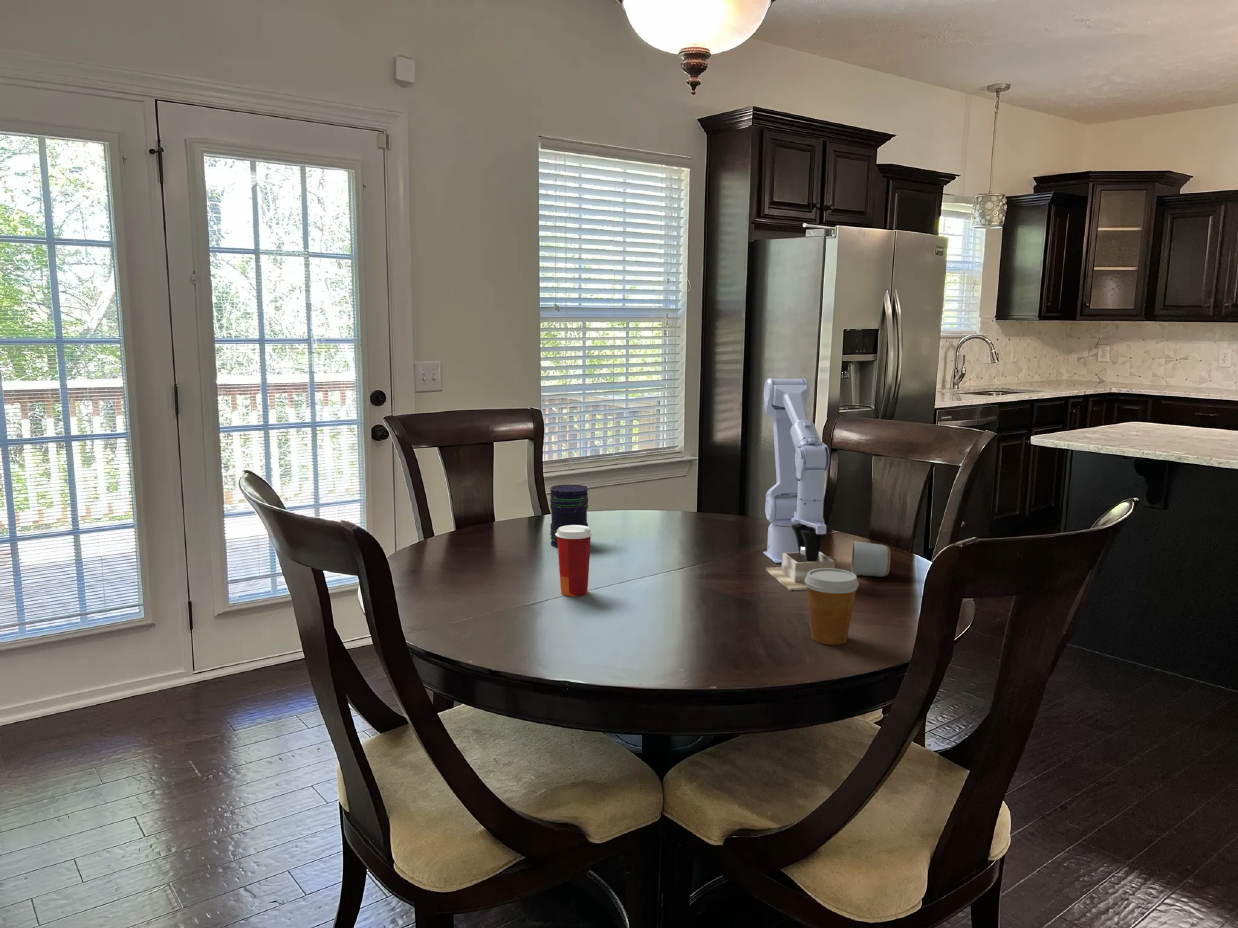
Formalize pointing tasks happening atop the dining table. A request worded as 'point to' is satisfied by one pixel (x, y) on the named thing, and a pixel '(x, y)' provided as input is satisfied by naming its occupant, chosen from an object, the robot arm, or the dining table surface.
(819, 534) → the robot arm
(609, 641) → the dining table surface
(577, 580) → the paper cup
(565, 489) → the storage jar
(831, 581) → the disposable coffee cup
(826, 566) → the base
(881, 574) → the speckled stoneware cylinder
